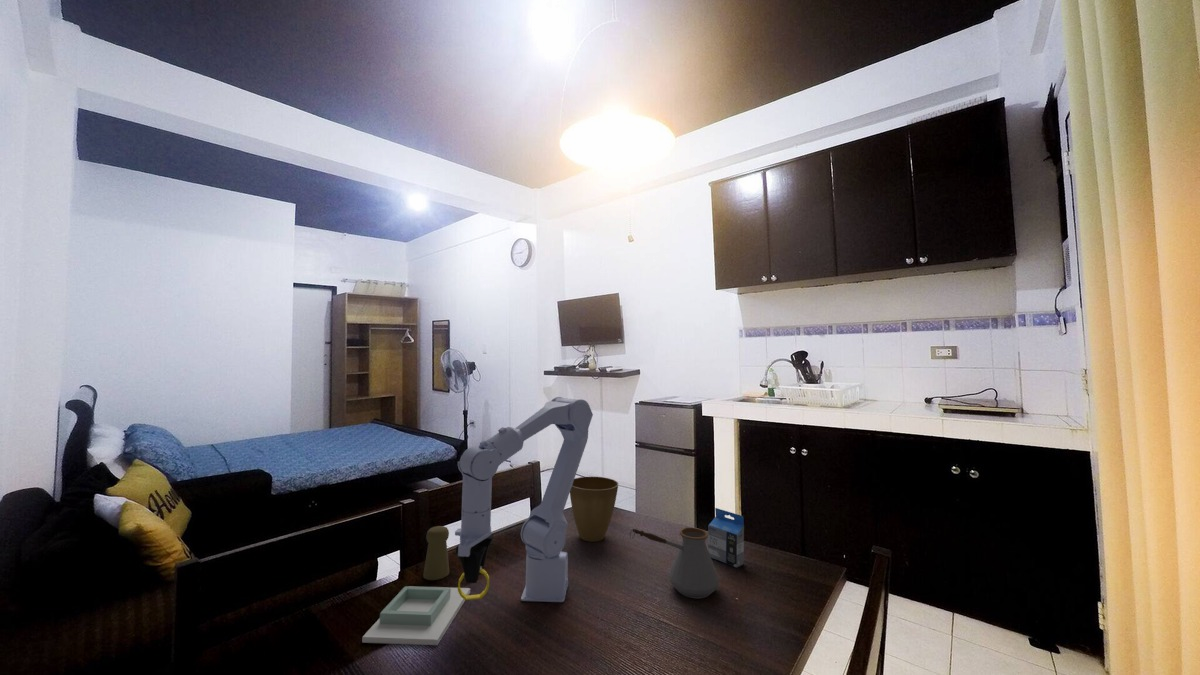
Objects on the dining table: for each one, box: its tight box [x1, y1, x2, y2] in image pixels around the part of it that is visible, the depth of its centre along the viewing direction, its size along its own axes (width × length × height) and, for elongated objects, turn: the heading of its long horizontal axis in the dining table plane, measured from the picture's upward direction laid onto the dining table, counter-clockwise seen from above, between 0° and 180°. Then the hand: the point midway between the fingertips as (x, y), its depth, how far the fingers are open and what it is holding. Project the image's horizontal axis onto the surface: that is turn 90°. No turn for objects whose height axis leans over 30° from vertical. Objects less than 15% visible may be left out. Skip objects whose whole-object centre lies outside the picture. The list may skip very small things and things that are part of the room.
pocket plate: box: [361, 585, 471, 646], centre depth 88 cm, size 14×18×3 cm
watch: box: [457, 566, 490, 601], centre depth 86 cm, size 6×3×6 cm, turn 104°
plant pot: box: [569, 476, 619, 543], centre depth 129 cm, size 15×15×16 cm
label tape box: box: [707, 507, 745, 568], centre depth 115 cm, size 9×4×12 cm, turn 42°
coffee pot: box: [629, 526, 720, 600], centre depth 99 cm, size 21×12×15 cm, turn 105°
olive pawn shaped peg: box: [422, 525, 450, 581], centre depth 106 cm, size 6×6×11 cm
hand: (474, 577), depth 86 cm, fingers closed on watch, 3 cm apart
